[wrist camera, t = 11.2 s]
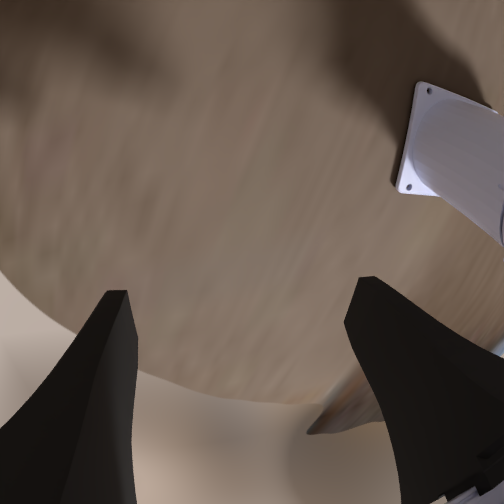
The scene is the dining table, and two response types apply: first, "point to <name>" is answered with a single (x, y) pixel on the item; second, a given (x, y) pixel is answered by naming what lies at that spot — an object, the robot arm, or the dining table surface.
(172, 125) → the dining table surface
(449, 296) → the dining table surface
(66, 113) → the dining table surface
